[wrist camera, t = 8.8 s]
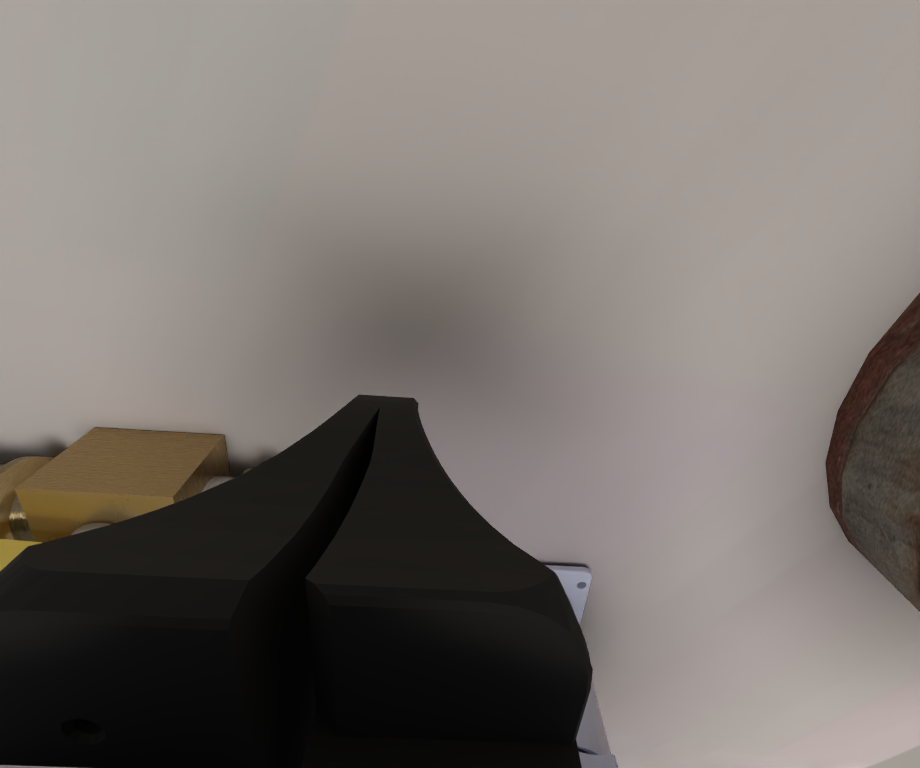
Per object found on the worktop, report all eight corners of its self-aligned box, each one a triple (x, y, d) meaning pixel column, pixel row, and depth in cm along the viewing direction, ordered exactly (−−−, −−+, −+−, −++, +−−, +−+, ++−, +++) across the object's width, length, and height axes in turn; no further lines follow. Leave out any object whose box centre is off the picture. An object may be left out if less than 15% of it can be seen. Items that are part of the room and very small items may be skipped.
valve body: (392, 444, 23) (378, 508, 19) (391, 539, 26) (378, 613, 22) (-82, 417, 23) (-204, 477, 18) (-35, 518, 25) (-132, 590, 21)
